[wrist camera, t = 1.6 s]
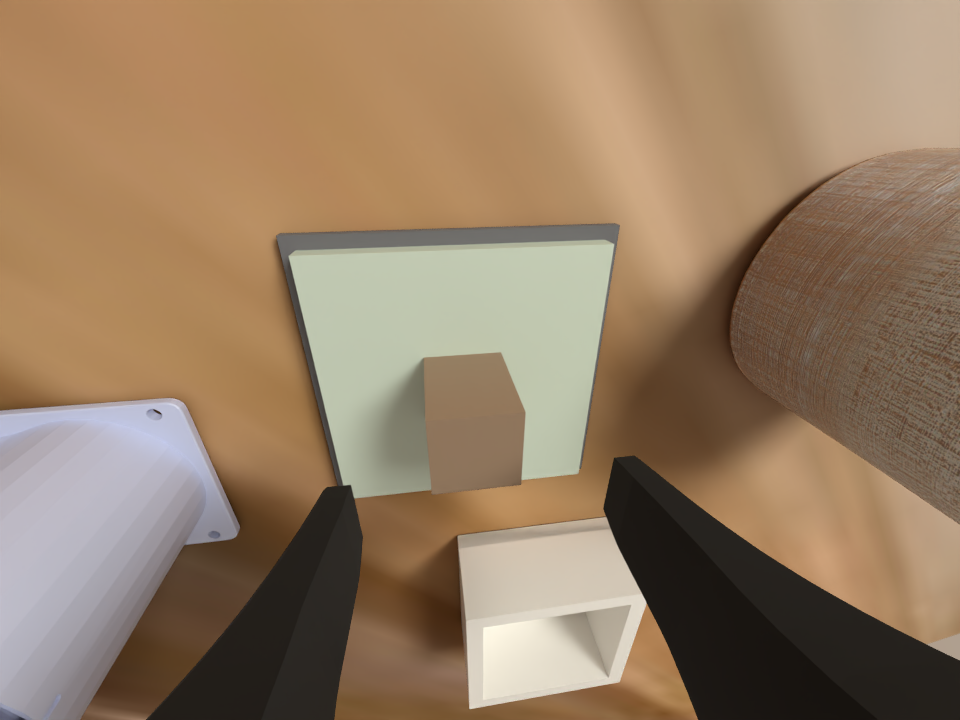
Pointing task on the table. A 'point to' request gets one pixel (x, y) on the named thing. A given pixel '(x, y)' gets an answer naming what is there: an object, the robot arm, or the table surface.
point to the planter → (867, 317)
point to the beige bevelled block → (545, 610)
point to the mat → (428, 238)
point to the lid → (454, 359)
